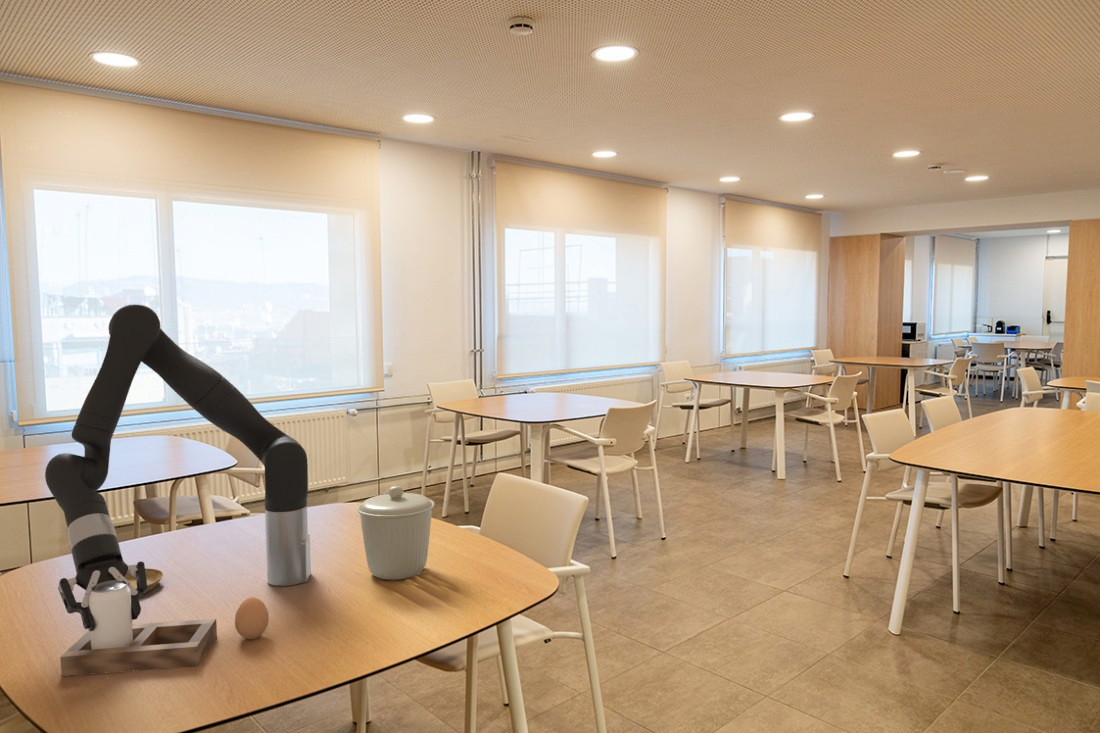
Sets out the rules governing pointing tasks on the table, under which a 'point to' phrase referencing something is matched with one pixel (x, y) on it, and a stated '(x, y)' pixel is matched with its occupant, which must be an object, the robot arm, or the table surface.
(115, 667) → the rack
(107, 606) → the can
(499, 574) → the table surface
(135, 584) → the plant saucer
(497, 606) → the table surface
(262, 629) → the egg
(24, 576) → the table surface
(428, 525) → the canister
